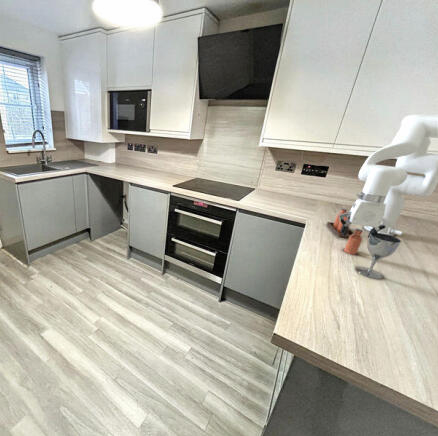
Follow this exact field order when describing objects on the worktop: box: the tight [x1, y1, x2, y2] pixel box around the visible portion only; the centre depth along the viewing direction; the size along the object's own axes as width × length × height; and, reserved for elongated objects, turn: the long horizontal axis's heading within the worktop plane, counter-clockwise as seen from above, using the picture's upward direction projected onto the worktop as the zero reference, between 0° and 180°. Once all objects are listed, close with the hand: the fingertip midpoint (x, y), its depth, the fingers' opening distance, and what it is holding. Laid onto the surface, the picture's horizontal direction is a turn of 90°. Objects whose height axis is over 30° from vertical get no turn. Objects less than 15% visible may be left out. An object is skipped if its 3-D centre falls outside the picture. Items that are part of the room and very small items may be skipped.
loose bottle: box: [343, 228, 364, 255], centre depth 102 cm, size 4×4×11 cm
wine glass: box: [356, 233, 402, 280], centre depth 86 cm, size 8×8×15 cm
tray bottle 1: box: [333, 207, 348, 229], centre depth 127 cm, size 4×4×11 cm
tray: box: [326, 221, 355, 240], centre depth 124 cm, size 19×8×2 cm, turn 159°
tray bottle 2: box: [337, 211, 351, 233], centre depth 122 cm, size 4×4×11 cm
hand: (356, 236), depth 101 cm, fingers open, 9 cm apart
